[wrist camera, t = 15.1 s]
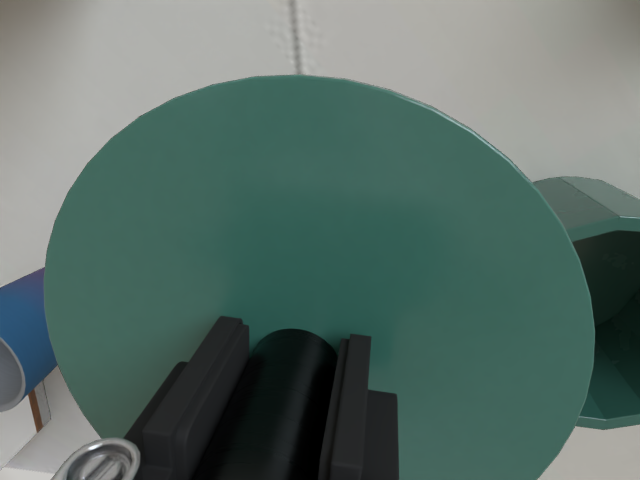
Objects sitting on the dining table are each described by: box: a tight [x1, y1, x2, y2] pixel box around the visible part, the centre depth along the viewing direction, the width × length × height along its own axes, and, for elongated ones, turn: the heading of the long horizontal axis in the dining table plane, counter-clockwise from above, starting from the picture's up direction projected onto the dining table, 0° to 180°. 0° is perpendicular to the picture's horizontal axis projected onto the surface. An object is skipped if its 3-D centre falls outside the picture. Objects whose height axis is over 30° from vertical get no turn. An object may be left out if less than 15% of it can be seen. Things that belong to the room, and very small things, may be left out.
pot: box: [533, 177, 640, 430], centre depth 29 cm, size 14×14×10 cm
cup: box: [0, 267, 58, 412], centre depth 33 cm, size 7×7×15 cm
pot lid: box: [44, 74, 595, 480], centre depth 10 cm, size 15×15×6 cm
